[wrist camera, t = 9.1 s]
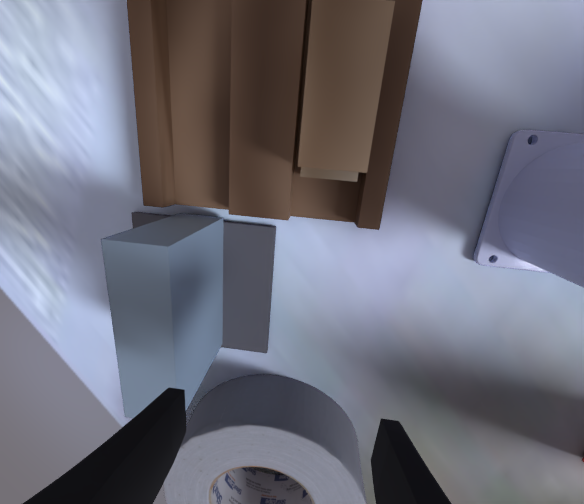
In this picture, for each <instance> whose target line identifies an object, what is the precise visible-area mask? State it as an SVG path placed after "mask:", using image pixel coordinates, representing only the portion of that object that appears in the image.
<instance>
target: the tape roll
mask: <svg viewBox="0 0 584 504" xmlns="http://www.w3.org/2000/svg"><path fill="white" fill-rule="evenodd" d="M251 467H263V468H268V469H272V470H275V471H278V472H280V473H283V474H281V475H277V474H268V473H263V472H260V471H257V470H255V469H253V468H251ZM163 484H164V495H165V499H166V502H167V504H367V502H366V496H365V491H364V484H363V477H362V471H361V463H360V455H359V448H358V440H357V436H356V432H355V429H354V427H353V424H352V422H351V421H350V419H349V417H348V416H347V414H346V413H345V412H344V411H343V409H342V408H341V407H340V406H339V405H338V404H337V403H336V402H335V401H334V400H333V399H331V398H330V397H329V396H327V395H326V394H325V393H323V392H322V391H320V390H318V389H317V388H315V387H313V386H311V385H309V384H306V383H304V382H301V381H298V380H295V379H292V378H288V377H283V376H277V375H248V376H243V377H239V378H236V379H232V380H229V381H227V382H224V383H222V384H220V385H218V386H217V387H215V388H214V389H212V390H211V391H210V392H208V393H207V394H206V395H205V396H204V397H203V398H202V400H201V401H200V402H199V403H198V405H197V407H196V408H195V410H194V412H193V414H192V416H191V418H190V420H189V422H188V424H187V426H186V434H185V436H184V439H183V441H182V444H181V446H180V449H179V451H178V454H177V456H176V458H175V461H174V463H173V465H172V467H171V469H170V471H169V473H168V475H167V477H166V479H165V481H164V483H163Z"/></svg>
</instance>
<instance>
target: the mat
mask: <svg viewBox="0 0 584 504" xmlns="http://www.w3.org/2000/svg"><path fill="white" fill-rule="evenodd" d="M170 216H171V215H161V214H152V213H142V212H132V222H133V229H134V228H137V227H140V226H143V225H146V224H149V223H152V222H155V221H158V220H161V219H164V218H167V217H170ZM275 235H276V226H266V225H257V224H247V223H238V222H228V221H223V336H222V346H221V347H224V348H232V349H239V350H247V351H254V352H261V353H267V350H268V336H269V322H270V307H271V293H272V279H273V264H274V250H275Z"/></svg>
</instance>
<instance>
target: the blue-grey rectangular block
mask: <svg viewBox="0 0 584 504" xmlns="http://www.w3.org/2000/svg"><path fill="white" fill-rule="evenodd" d="M101 243H102V251H103V258H104V265H105V273H106V280H107V288H108V295H109V302H110V310H111V317H112V325H113V332H114V339H115V347H116V354H117V362H118V369H119V376H120V384H121V391H122V399H123V406H124V413H125V417H130V418H134V417H135V416H137V415H138V414H139V413H140V412H141V411H142V410H143V409H145V408H146V407H147V406H148V405H149V404H150V403H151V402H152V401H154V400H155V399H156V398H157V397H158V396H159V395H160V394H161V393H163V392H164V391H165V390H166V389H167V388H169V387H170V388H176V389H183V390H185V409H186V410H187V408H188V406H189V405H190V403H191V401H192V399H193V397H194V395H195V393H196V392H197V390H198V388H199V386H200V384H201V382H202V381H203V379H204V377H205V375H206V373H207V371H208V370H209V368H210V366H211V364H212V362H213V360H214V358H215V357H216V355H217V353H218V351H219V349H220V347H221V346H222V336H223V218H222V217H212V216H202V215H193V214H183V213H179V214H176V215H173V216H170V217H167V218H164V219H161V220H158V221H155V222H152V223H149V224H146V225H143V226H140V227H137V228H134V229H131V230H128V231H124V232H121V233H118V234H115V235H112V236H109V237H106V238H103V239H101Z"/></svg>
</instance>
